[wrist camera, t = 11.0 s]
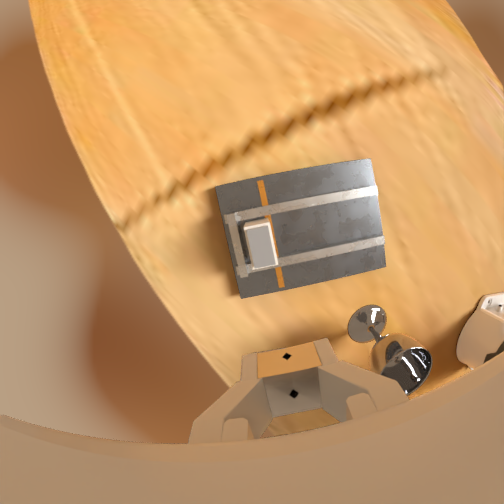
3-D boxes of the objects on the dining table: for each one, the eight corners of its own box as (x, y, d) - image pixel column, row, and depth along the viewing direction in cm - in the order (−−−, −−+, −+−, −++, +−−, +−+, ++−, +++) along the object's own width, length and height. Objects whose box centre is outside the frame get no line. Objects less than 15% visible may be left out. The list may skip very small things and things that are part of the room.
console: (365, 159, 38) (378, 156, 33) (380, 263, 41) (394, 272, 36) (217, 186, 39) (211, 186, 34) (241, 293, 42) (239, 306, 37)
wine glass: (337, 337, 43) (365, 394, 29) (360, 295, 42) (402, 340, 27) (373, 349, 44) (408, 402, 29) (396, 311, 42) (442, 354, 28)
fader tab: (267, 217, 38) (270, 222, 31) (275, 253, 38) (278, 266, 32) (245, 221, 38) (243, 228, 31) (253, 257, 39) (252, 271, 32)
